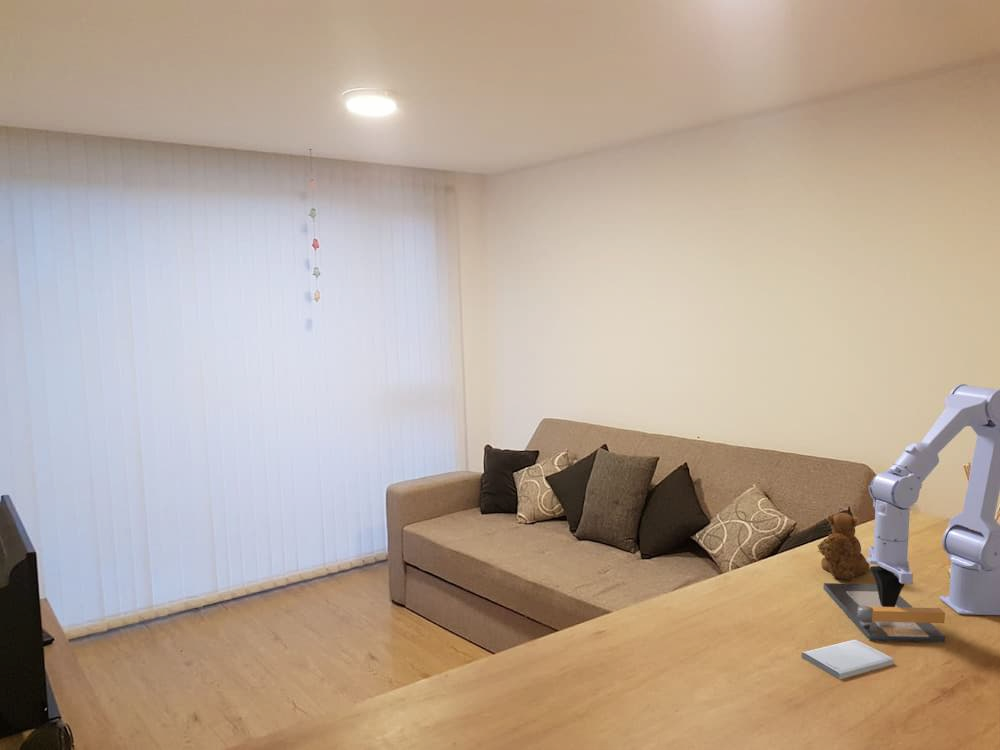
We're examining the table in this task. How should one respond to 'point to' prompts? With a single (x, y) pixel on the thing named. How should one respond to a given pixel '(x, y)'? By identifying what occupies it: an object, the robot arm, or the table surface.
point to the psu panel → (868, 595)
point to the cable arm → (900, 614)
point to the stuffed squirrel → (843, 549)
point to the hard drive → (847, 659)
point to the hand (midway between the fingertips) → (887, 606)
